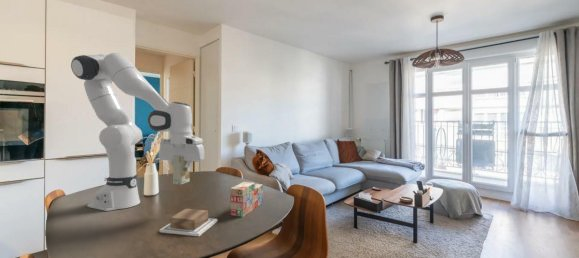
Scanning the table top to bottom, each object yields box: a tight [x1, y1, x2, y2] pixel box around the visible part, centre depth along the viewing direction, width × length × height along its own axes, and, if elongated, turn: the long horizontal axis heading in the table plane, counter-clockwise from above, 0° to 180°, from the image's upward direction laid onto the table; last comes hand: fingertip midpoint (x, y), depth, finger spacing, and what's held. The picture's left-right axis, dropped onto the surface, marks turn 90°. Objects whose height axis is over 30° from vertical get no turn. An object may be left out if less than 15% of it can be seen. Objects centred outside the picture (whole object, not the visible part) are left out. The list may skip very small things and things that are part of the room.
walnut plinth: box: [169, 208, 209, 231], centre depth 101 cm, size 10×10×4 cm
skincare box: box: [172, 156, 191, 185], centre depth 113 cm, size 6×4×12 cm
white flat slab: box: [159, 217, 218, 237], centre depth 101 cm, size 16×14×1 cm
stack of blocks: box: [229, 181, 264, 218], centre depth 122 cm, size 21×6×12 cm, turn 162°
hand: (181, 170), depth 113 cm, fingers closed on skincare box, 4 cm apart
